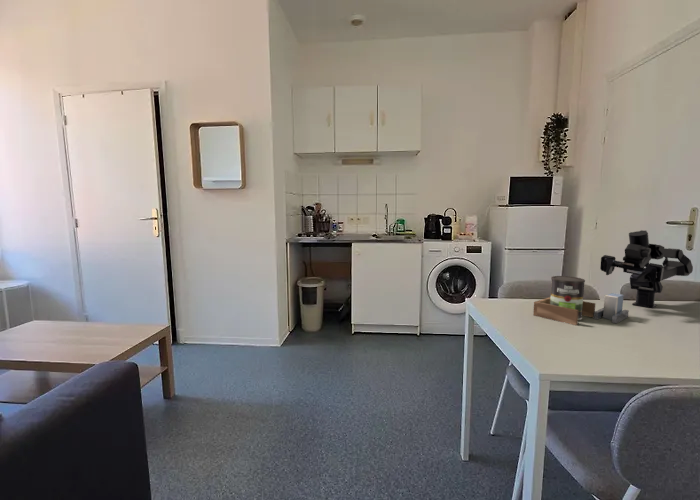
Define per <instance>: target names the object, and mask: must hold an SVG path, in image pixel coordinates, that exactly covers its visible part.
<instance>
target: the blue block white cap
mask: <svg viewBox="0 0 700 500" xmlns="http://www.w3.org/2000/svg"><path fill="white" fill-rule="evenodd" d="M603 298H604V300H603V308H604V311H603V317H602V318H603V319H607V320H611V321H612V315H614V314H617V313H619V312H621V311H623V305H624V294H621V293H616V292H615V293H614V292H613V293H612V292H611V293H609V294H606V295H604V297H603Z"/></svg>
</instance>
